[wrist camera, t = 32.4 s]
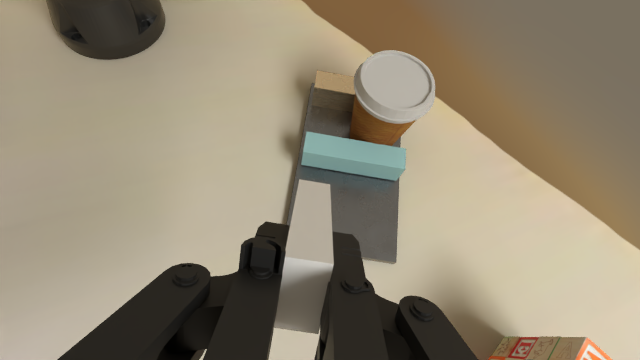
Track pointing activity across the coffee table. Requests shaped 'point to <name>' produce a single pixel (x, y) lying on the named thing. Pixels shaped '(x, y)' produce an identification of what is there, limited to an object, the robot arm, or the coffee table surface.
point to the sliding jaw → (353, 156)
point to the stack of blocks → (548, 349)
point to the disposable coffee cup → (390, 96)
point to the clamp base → (349, 174)
